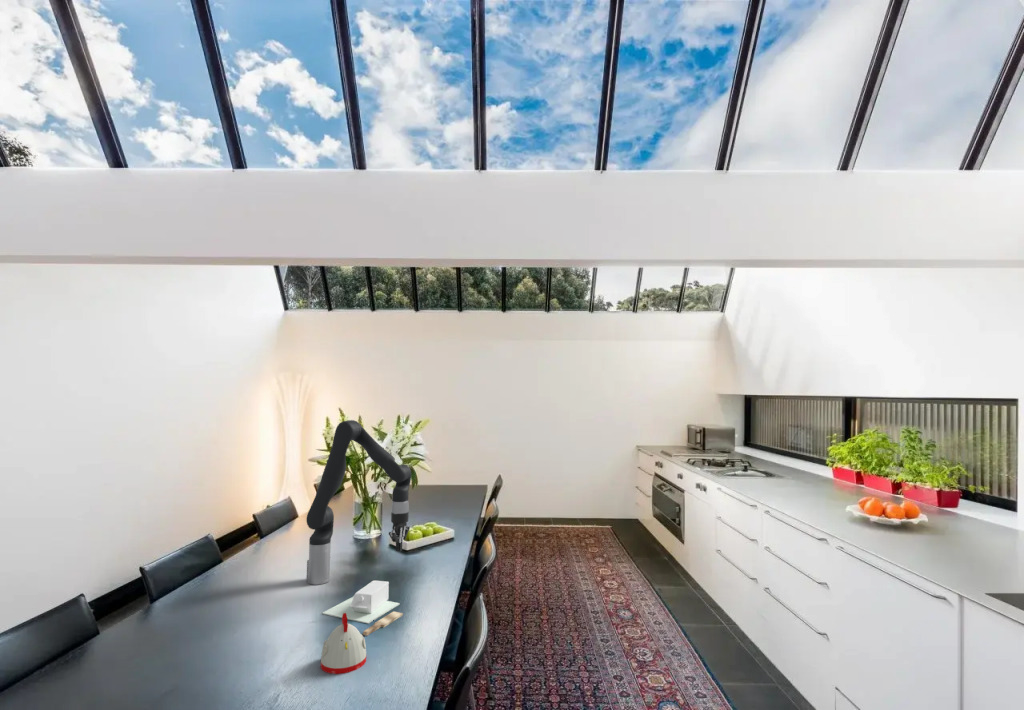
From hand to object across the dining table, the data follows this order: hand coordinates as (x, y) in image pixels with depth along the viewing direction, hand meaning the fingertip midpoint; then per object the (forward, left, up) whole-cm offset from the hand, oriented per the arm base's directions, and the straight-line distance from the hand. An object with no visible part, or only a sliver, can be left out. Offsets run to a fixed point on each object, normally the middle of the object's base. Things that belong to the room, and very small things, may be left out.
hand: (398, 550), depth 235 cm
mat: (0, -24, -16) cm, 29 cm away
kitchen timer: (+22, -60, -17) cm, 66 cm away
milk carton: (+1, -13, -12) cm, 18 cm away
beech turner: (+16, -31, -16) cm, 39 cm away
